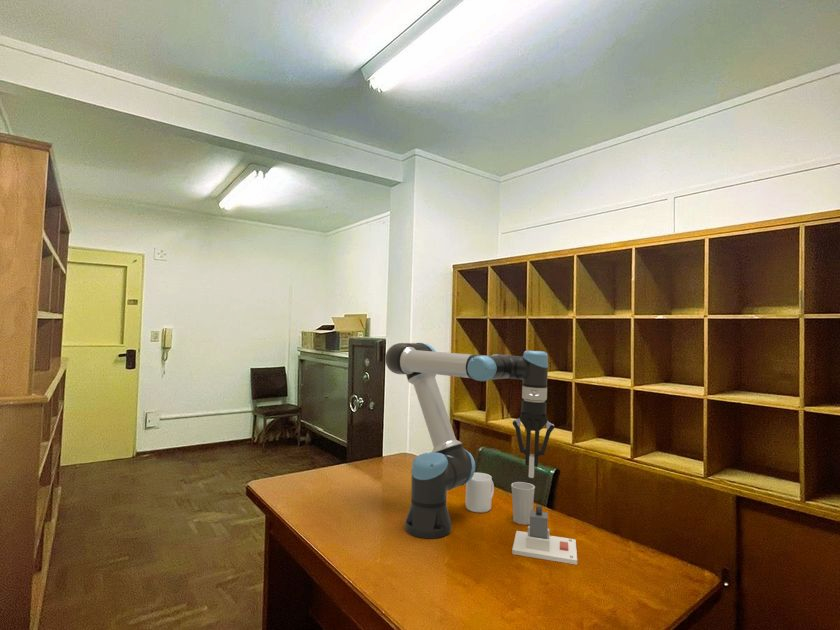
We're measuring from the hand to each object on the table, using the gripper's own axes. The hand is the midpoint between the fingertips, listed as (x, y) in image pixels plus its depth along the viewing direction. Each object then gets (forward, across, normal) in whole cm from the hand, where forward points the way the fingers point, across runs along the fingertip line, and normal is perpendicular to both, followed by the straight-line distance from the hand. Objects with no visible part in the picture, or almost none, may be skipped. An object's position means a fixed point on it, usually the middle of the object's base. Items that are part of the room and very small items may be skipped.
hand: (531, 476), depth 139 cm
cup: (+21, -3, +17) cm, 27 cm away
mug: (+21, -19, +24) cm, 37 cm away
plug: (+20, +3, -2) cm, 21 cm away
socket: (+20, +5, -2) cm, 21 cm away
